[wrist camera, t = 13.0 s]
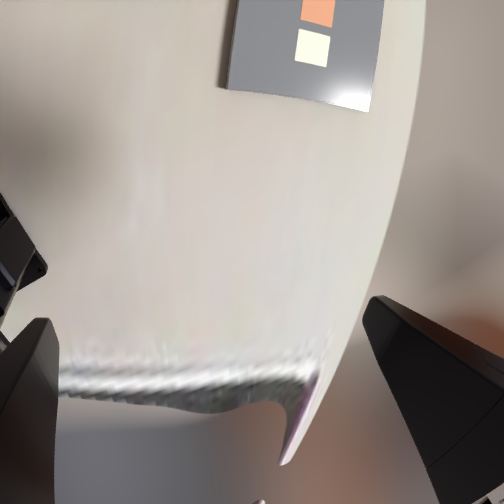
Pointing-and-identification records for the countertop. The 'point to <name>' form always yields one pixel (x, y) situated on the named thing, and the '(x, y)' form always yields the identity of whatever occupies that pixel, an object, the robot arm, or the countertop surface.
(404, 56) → the countertop surface
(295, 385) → the countertop surface
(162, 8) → the countertop surface
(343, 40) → the tile
